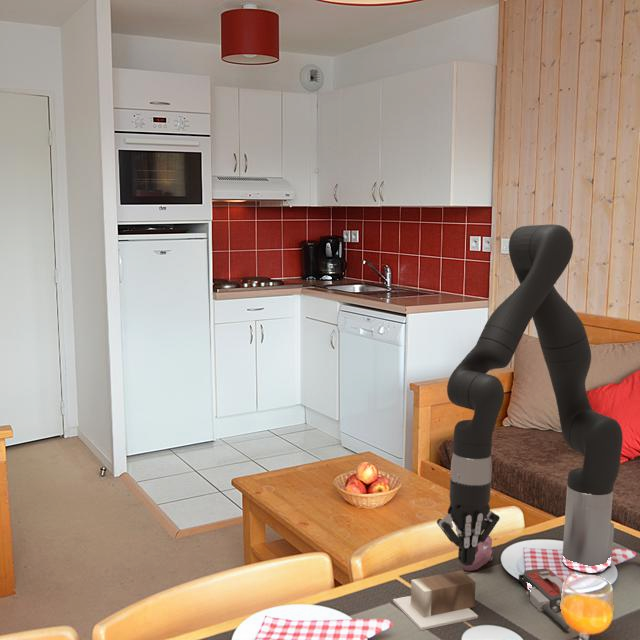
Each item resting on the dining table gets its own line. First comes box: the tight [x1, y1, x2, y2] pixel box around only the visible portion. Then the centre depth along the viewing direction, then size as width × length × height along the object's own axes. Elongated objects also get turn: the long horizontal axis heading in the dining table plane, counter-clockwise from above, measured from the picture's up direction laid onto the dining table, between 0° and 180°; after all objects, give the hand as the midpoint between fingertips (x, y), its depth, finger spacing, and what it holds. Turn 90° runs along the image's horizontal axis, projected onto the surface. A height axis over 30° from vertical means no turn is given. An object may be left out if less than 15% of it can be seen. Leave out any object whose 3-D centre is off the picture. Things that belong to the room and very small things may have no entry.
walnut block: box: [410, 570, 477, 617], centre depth 150 cm, size 5×5×11 cm
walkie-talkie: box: [518, 567, 570, 630], centre depth 152 cm, size 9×4×20 cm
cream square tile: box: [392, 595, 479, 631], centre depth 150 cm, size 12×11×1 cm
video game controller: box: [463, 536, 493, 572], centre depth 169 cm, size 10×5×7 cm, turn 169°
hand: (466, 563), depth 151 cm, fingers closed
